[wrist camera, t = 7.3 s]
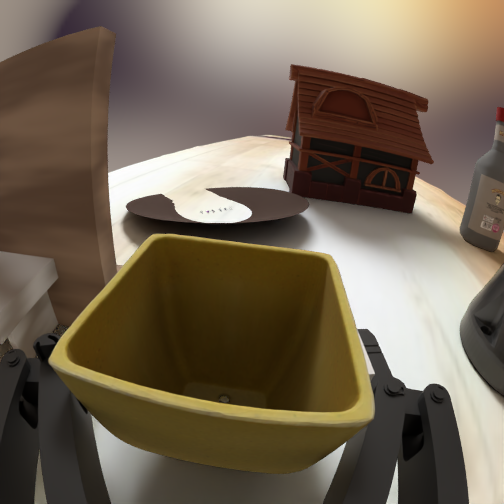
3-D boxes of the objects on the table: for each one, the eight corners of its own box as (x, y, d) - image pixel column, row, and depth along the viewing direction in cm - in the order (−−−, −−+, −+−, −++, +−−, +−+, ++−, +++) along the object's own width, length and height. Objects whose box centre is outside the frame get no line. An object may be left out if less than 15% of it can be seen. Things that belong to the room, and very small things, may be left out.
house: (282, 201, 53) (299, 50, 40) (274, 173, 78) (284, 73, 65) (434, 223, 54) (457, 99, 41) (386, 190, 79) (400, 99, 66)
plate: (241, 185, 62) (242, 169, 60) (342, 231, 42) (347, 208, 41) (112, 200, 47) (111, 180, 45) (161, 274, 27) (159, 240, 25)
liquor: (498, 255, 42) (528, 117, 28) (465, 243, 45) (493, 100, 32) (487, 240, 49) (512, 119, 36) (456, 229, 52) (480, 104, 39)
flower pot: (298, 504, 9) (384, 420, 5) (120, 472, 10) (39, 358, 6) (298, 377, 17) (334, 252, 13) (166, 357, 17) (152, 230, 13)
